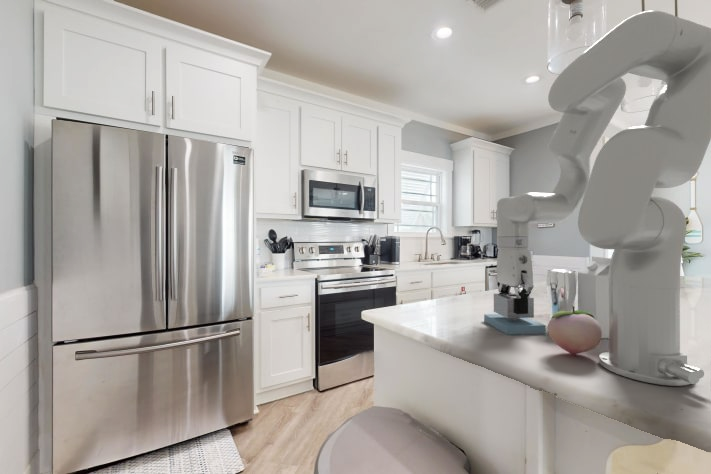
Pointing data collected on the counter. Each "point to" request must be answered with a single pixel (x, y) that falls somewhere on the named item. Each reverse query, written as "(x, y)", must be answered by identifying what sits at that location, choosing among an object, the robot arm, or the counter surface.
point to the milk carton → (595, 291)
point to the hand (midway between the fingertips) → (513, 309)
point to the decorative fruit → (575, 331)
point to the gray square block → (511, 306)
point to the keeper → (514, 324)
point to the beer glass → (561, 290)
